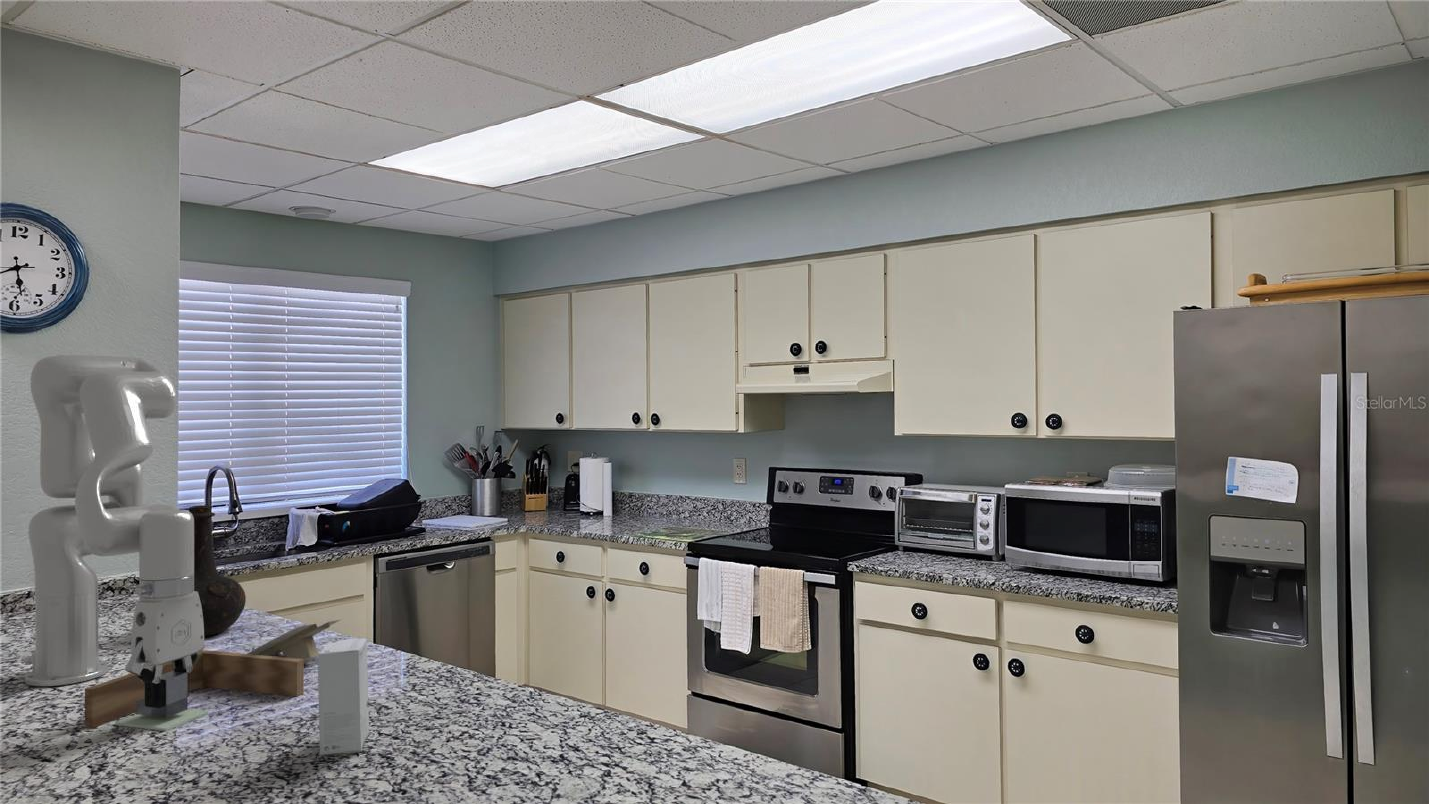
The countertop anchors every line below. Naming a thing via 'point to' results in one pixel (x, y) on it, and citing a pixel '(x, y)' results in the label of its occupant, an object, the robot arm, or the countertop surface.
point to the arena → (199, 682)
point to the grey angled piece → (294, 643)
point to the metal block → (169, 696)
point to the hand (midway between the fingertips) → (167, 700)
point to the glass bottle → (213, 579)
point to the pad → (161, 720)
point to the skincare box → (343, 696)
